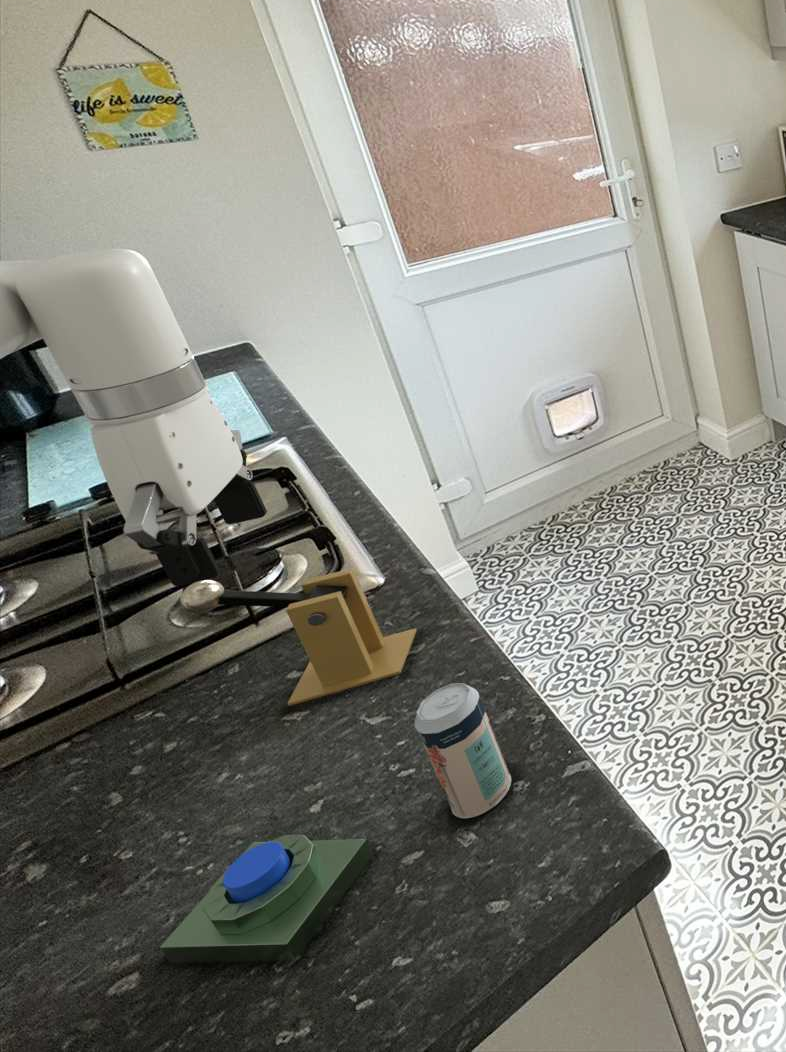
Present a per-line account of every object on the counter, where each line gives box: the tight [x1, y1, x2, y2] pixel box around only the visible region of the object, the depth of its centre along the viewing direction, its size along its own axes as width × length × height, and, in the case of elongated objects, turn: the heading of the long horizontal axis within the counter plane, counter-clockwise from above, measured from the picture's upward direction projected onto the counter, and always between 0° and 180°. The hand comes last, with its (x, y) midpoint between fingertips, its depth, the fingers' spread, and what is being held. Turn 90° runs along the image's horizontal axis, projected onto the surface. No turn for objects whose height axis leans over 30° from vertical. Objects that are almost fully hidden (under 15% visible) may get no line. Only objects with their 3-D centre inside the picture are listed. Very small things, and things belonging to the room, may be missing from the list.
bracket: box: [285, 568, 418, 707], centre depth 85 cm, size 10×7×12 cm
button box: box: [159, 834, 374, 964], centre depth 63 cm, size 10×8×4 cm
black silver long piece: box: [179, 579, 348, 615], centre depth 81 cm, size 13×3×3 cm, turn 113°
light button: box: [223, 841, 290, 902], centre depth 62 cm, size 4×4×2 cm
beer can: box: [414, 682, 512, 819], centre depth 70 cm, size 5×5×12 cm
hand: (224, 548), depth 74 cm, fingers open, 9 cm apart
